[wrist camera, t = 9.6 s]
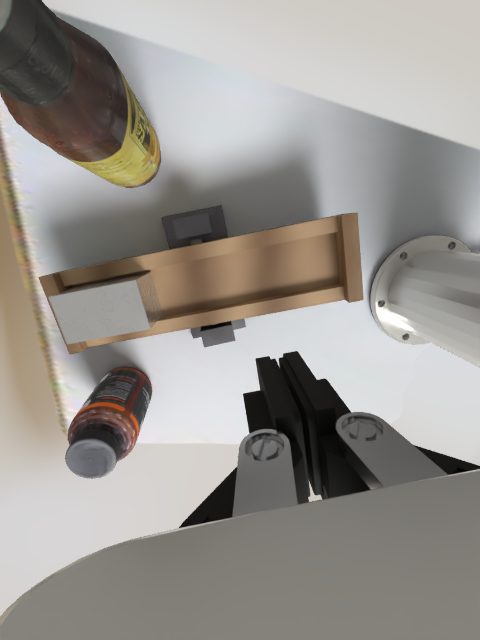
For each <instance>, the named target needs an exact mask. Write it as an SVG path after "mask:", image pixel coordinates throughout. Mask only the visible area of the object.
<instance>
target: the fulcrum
mask: <svg viewBox="0 0 480 640" xmlns="http://www.w3.org/2000/svg"><path fill="white" fill-rule="evenodd" d="M162 221H163V225H164V229H165V232H166V236H167V240H168V244H169V248H170V249H174V248H179V247H184V246H188V245H191V242H190V240H195V239H200V238H202V243H203V242H208V241H213V240H218V239H223V238H228V236H227V231H226V226H225V221H224V216H223V211H222V206H221V205H220V206H216V207H211V208H206V209H201V210H196V211H191V212H186V213H181V214H176V215H171V216H166V217H162ZM243 327H246V326H245V321H244V318H243V319H238V320H233V321H227V322H222V323H218V324H214V325H206V326H200V327H195V328H191V332H192V335H193V338H198V337H202V340H203V344H204V347H208V346H213V345H217V344H222V343H226V342H231V341H235V337H234V332H233V330H234V329H239V328H243Z"/></svg>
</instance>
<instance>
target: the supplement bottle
mask: <svg viewBox="0 0 480 640" xmlns="http://www.w3.org/2000/svg"><path fill="white" fill-rule="evenodd" d="M151 395H152V387H151V383H150V381H149V379H148V378H147V377H146V376H145V375H144V374H143V373H142V372H140V371H139V370H136V369H133V368H128V367H121V368H116V369H114V370H112V371H110V372H108V373H107V374H106V375H105V376H104V377H103V378H102V379H101V381H100V382H99V384H98V385H97V386H96V388H95V389H94V391H93V392H92V394H91V395H90V396H89V398H88V399H87V401H86V402H85V403H84V405H83V406H82V408H81V409H80V411H79V412H78V413H77V415H76V416H75V418H74V419H73V421H72V423H71V425H70V427H69V430H68V441H69V444H70V446H69V448H68V450H67V452H66V457H65V459H66V464H67V466H68V467H69V469H70V470H71V471H72V472H73V473H75V474H76V475H79V476H80V477H84V478H91V479H93V478H100V477H103V476H105V475H107V474H108V473H110V472H111V471H112V470H113V469H114V467H115V465H116V463H117V461H119V460H121V459H123V458H124V457H126V456H127V455H128V454H129V453H130V452H131V450H132V449H133V447H134V445H135V443H136V441H137V438H138V435H139V432H140V429H141V426H142V423H143V420H144V418H145V414H146V412H147V409H148V405H149V403H150V400H151Z"/></svg>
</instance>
